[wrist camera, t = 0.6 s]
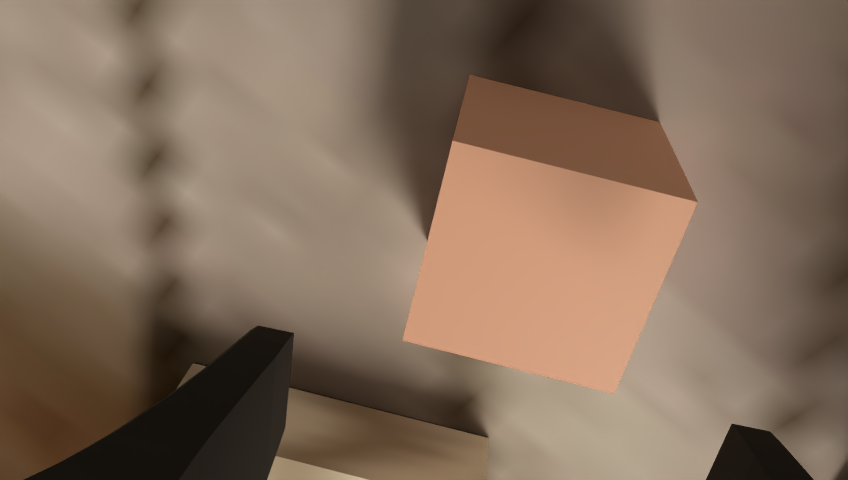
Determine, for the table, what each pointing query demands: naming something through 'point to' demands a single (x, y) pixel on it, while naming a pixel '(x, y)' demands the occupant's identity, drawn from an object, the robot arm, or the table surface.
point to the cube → (549, 235)
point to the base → (368, 444)
